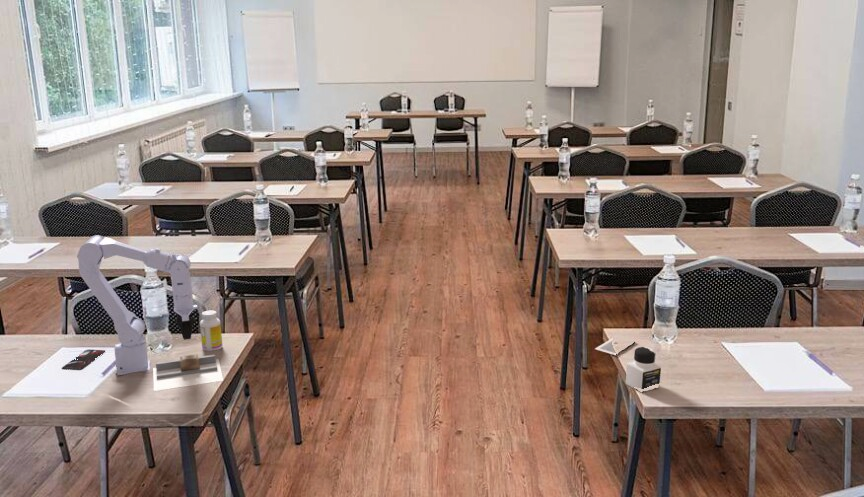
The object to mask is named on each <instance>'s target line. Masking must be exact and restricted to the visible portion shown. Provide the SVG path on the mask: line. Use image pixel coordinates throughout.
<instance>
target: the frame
mask: <svg viewBox="0 0 864 497" xmlns="http://www.w3.org/2000/svg"><path fill="white" fill-rule="evenodd" d="M199 357H200V356H199V354H198V353H197V354H190V355H189V354H188V355H183V356H179V360H180V364H181V371H188V370H195V369H200V366H199Z"/></svg>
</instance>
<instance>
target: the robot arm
mask: <svg viewBox="0 0 864 497" xmlns="http://www.w3.org/2000/svg"><path fill="white" fill-rule="evenodd" d="M115 256H118V257H122V258H128V259H131V260H134V261H135V260H136V261H140V262H143V264H144V265H145V266H146V267H147V268H151V269H154V270H158V271H161V272H165V273H169V275H170V276H171V287H172V297H173V299H172V300H173V306H174V307H173V312H174V313H175V314H176V316H177V318H175V322H176V325H177V326H178V328H179V329H180V333H181V335H182V338H183V341H184V340H191V339H192V332H193V331H192V330H193V325H194V324H195V320H196V318H195V317H192V314H193V311H194V310H197V309H198V305H197V304H194V298H193V290H192V289H193V287H192V279H191V273H190V268H191V265H192V264H191V260H190V258H189V257H188V256H186V255H184V254H181V253H180V254H176V253H169V252H165V251H162V250H161V248H159V247H156V248H155V249H154V248H151V249H148V250H144V249H141V248H139V247H135V246H133V245H129V244H128V243H127V244H126V243H123V242H120V241H118V240H115V239H113V238H111V237H104V236H103V235H97V234H96V235H92V236H91V237H89V238H88V240H86V242H85V243H83V244H82V245H81V246H80V248H79V249H78V253H77V255H76V258H77V259H78V272H79V275H80V277H81V279H82V280H83V281H84V283H85V284H86V285H87V287H88V288H89V289H90V291H91V292H92V293H93V295H94V296H95V297H96V299H97V300H98V302H99V303H100V304H101V306H102V307H103V309H104V310H105V311H106V313H107V314H108V316H109V317H110V318H111V320H112V321H113V326H114V331H115V332H116V334H117V338H118V341H119V343H115V344H114V356H115V368H116V373H117V376H123V375H128V374H132V373H137V372H145V371H150V369H151V367H150V364H151V360H150V359H148V351H147V341H146V338H145V336H144V332H145V330H146V323H145V322H144V320H142V319H141V318H139V317H137V315H136V314H135V313H134V312H133V311H130V310H129V309H128V308H127V307H126V305H125V304H124V303H123V301H122V300H121V298H120V297H119V295H118V294H117V293H116V291H115V289H113V287H112V286H111V284H110V282H109V281H108V279H106V277H105V276H104V275H103V273H102V272H101V270H100V267H101V263H102V260H103V259H104V260H105V259H108V258H109V259H110V258H112V257H115Z"/></svg>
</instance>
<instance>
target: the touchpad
mask: <svg viewBox="0 0 864 497" xmlns="http://www.w3.org/2000/svg"><path fill="white" fill-rule="evenodd" d="M612 341H613V337H611V339H609V340H607V341H605V342H604V343H602V344H600V345H598V346H597V347H595V348H594V350H597V351H600V352H604V353H607V354H611V355H614V356H617V355H616V353H615V351H614V348H613V345H612ZM614 344H618V343H617V342H615V343H614Z"/></svg>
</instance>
